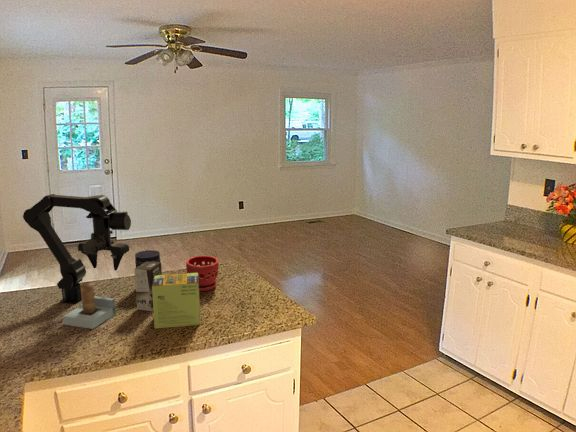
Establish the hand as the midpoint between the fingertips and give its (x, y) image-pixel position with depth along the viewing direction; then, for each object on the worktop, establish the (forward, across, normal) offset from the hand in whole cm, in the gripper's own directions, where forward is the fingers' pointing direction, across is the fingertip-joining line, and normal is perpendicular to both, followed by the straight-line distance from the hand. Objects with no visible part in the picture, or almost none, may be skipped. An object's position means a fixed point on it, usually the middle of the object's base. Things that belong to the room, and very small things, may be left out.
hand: (105, 269), depth 168 cm
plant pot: (+13, +29, +23) cm, 39 cm away
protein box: (+13, +34, -7) cm, 37 cm away
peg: (+13, +4, -15) cm, 20 cm away
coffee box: (+13, +18, +1) cm, 22 cm away
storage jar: (+13, +8, +16) cm, 22 cm away
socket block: (+13, +4, -15) cm, 20 cm away
